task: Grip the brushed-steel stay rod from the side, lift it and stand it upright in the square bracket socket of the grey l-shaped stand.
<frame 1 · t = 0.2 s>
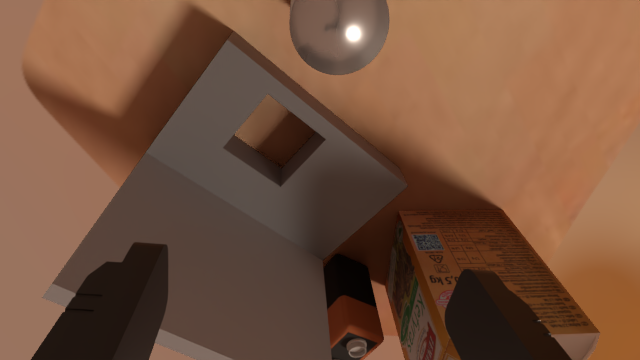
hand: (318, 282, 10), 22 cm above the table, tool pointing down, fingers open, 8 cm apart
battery: (334, 276, 41), on the table
milk carton: (439, 248, 40), on the table
grey l-shaped stand: (280, 157, 33), on the table
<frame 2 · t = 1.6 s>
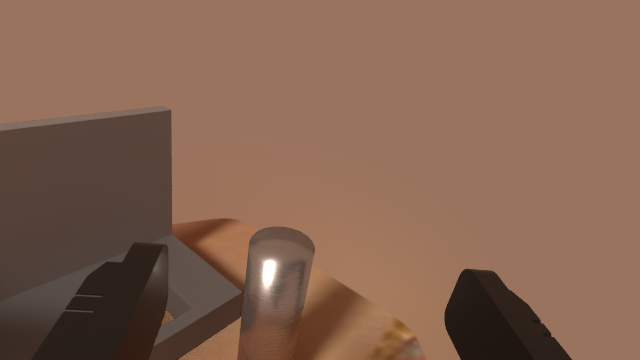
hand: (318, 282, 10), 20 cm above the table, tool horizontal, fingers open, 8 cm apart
grey l-shaped stand: (103, 332, 30), on the table
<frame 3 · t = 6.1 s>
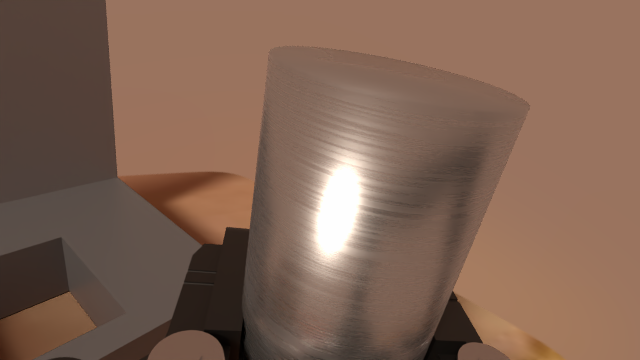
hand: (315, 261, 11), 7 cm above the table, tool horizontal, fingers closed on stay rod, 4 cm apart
when the fingers open (8 cm above the table, at t = 12.1 s): stay rod drops 1 cm, resting in grey l-shaped stand.
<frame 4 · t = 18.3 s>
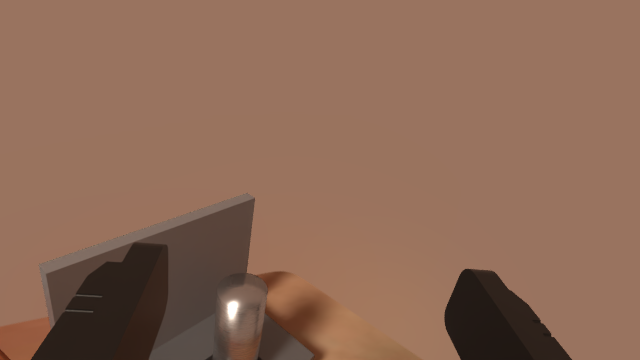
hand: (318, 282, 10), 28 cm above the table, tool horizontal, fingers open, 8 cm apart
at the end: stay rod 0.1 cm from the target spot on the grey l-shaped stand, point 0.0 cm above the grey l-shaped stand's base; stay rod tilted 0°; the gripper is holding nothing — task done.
